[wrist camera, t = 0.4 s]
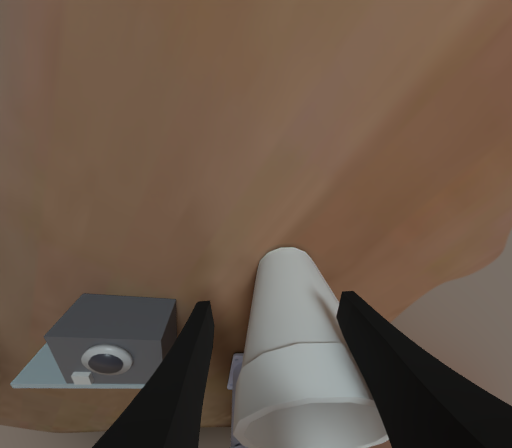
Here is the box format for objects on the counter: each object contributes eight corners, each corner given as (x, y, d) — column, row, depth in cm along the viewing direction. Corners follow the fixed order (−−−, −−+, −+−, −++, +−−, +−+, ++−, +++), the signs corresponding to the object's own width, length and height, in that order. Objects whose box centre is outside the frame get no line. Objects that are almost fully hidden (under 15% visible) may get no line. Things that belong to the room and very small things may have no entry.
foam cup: (287, 307, 26) (314, 463, 14) (227, 276, 23) (202, 439, 11) (345, 262, 22) (442, 425, 11) (282, 218, 19) (324, 376, 8)
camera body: (176, 341, 27) (162, 391, 22) (96, 338, 26) (61, 391, 21) (176, 299, 23) (158, 347, 18) (83, 293, 22) (36, 344, 17)
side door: (175, 350, 27) (164, 388, 23) (48, 346, 25) (12, 387, 21) (175, 346, 27) (163, 384, 23) (46, 342, 25) (10, 384, 21)
